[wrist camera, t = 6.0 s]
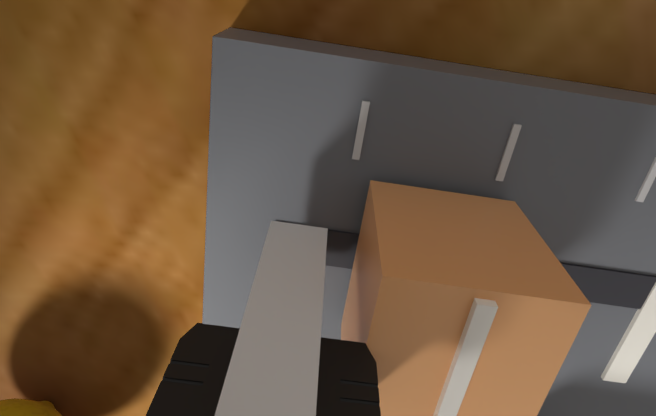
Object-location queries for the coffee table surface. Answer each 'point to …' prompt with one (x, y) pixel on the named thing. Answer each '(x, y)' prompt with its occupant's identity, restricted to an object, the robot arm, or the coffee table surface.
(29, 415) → the lemon
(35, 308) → the coffee table surface
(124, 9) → the coffee table surface
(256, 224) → the console
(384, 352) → the fader orange
